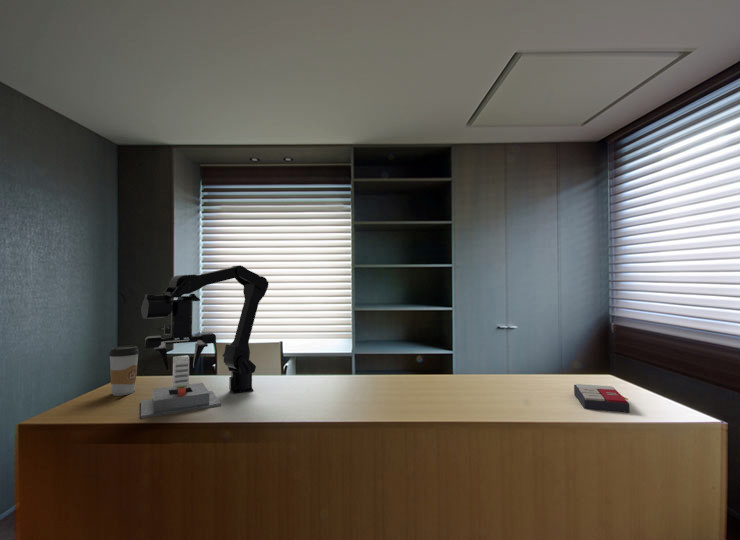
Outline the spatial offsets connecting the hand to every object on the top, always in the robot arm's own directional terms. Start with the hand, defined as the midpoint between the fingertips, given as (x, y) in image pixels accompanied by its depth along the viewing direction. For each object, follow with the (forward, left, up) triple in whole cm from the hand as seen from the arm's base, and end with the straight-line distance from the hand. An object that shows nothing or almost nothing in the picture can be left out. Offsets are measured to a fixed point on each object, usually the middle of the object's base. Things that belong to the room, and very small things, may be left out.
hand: (180, 369), depth 111 cm
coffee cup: (+15, -24, -11) cm, 30 cm away
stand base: (0, 0, -10) cm, 10 cm away
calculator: (-106, +66, -11) cm, 125 cm away
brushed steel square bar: (0, 0, -5) cm, 5 cm away
